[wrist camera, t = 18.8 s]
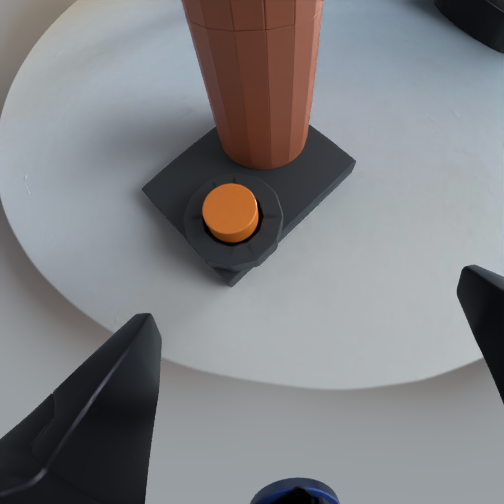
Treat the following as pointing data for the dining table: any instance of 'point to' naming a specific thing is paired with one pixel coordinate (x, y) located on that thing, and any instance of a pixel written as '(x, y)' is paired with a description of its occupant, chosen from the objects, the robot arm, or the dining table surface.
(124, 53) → the dining table surface
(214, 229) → the button
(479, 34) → the hut
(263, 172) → the scale
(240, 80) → the jar
